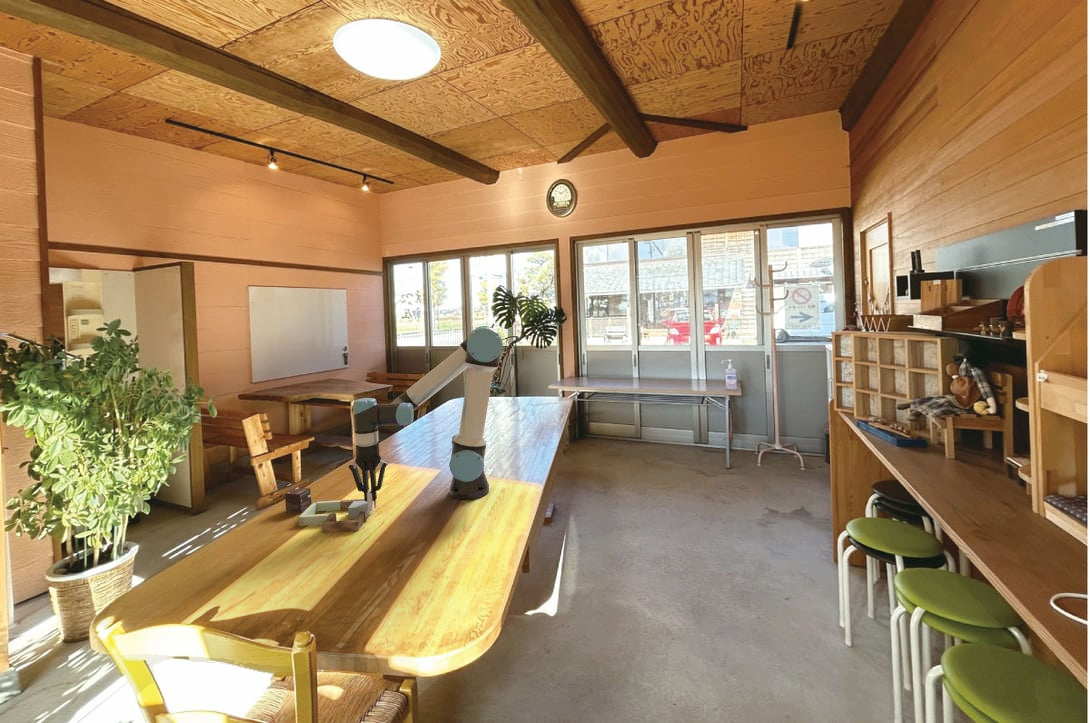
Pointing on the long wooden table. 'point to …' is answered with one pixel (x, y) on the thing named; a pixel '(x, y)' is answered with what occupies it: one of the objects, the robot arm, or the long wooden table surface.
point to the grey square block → (357, 509)
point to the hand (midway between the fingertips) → (371, 509)
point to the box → (297, 500)
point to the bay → (317, 519)
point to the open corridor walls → (345, 526)
